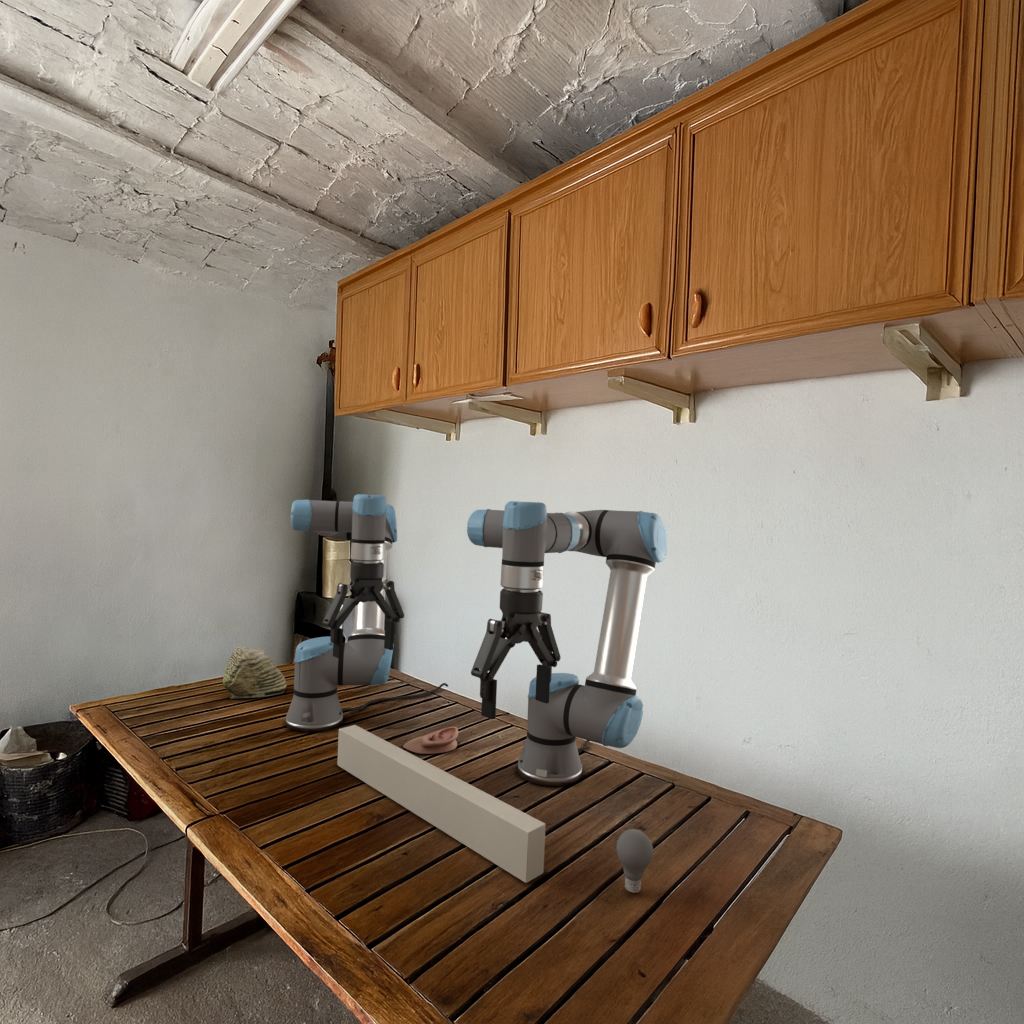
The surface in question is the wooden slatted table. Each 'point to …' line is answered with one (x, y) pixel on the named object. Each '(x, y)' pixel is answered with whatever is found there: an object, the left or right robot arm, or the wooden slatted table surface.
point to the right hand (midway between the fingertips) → (516, 709)
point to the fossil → (252, 674)
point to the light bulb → (634, 857)
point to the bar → (446, 802)
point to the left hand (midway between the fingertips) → (363, 653)
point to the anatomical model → (434, 742)
